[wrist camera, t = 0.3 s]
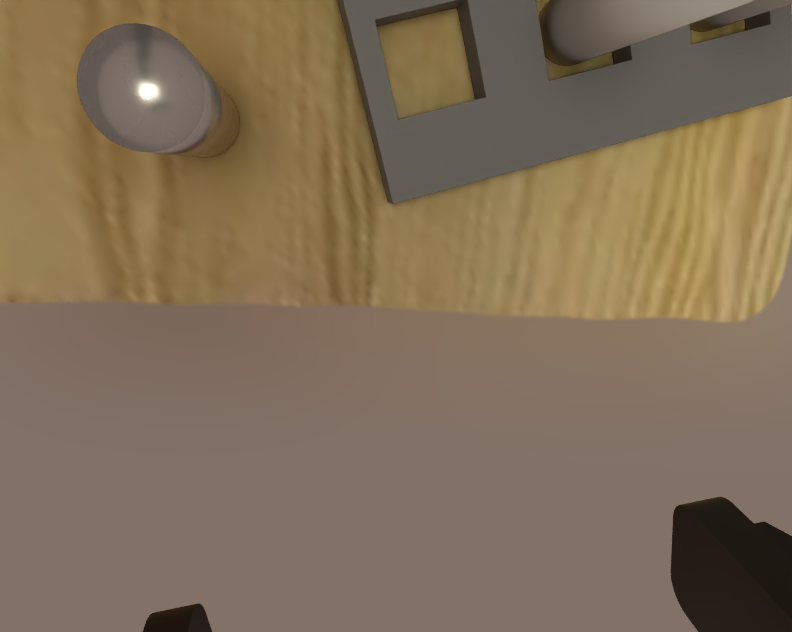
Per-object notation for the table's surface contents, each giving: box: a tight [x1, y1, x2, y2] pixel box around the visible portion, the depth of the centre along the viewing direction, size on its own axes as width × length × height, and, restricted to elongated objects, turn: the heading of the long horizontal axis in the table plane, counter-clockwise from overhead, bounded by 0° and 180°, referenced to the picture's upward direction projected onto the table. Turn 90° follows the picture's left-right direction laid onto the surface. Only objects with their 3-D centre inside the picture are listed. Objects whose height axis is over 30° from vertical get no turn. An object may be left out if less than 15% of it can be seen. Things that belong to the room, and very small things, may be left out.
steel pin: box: [77, 24, 240, 157], centre depth 26 cm, size 4×4×14 cm
